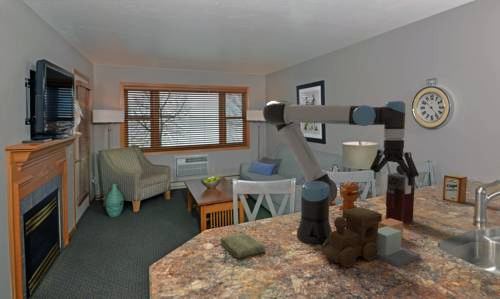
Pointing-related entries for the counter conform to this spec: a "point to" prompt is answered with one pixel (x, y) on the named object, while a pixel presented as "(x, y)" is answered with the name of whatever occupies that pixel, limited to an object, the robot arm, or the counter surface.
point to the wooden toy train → (353, 236)
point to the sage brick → (388, 240)
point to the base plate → (399, 257)
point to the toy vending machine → (399, 197)
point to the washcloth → (242, 245)
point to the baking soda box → (454, 188)
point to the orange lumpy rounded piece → (349, 195)
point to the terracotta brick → (391, 224)
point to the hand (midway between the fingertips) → (392, 190)
